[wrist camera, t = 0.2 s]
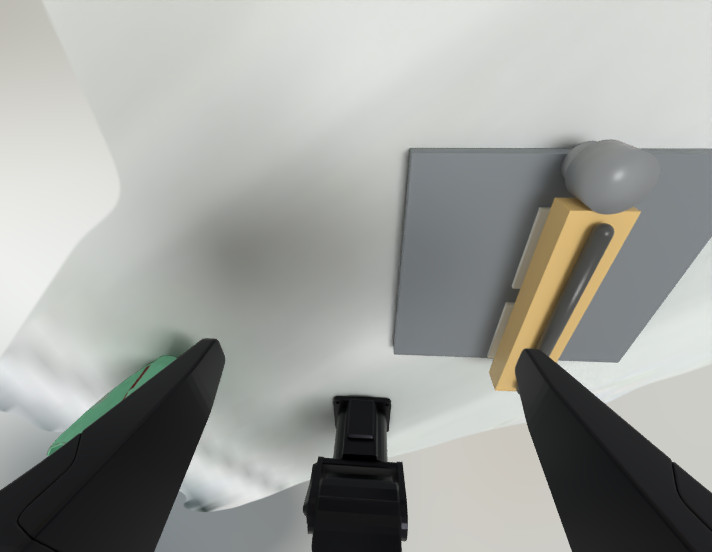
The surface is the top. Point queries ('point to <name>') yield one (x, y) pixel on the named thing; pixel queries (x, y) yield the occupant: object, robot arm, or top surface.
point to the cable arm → (575, 251)
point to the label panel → (532, 248)
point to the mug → (112, 400)
